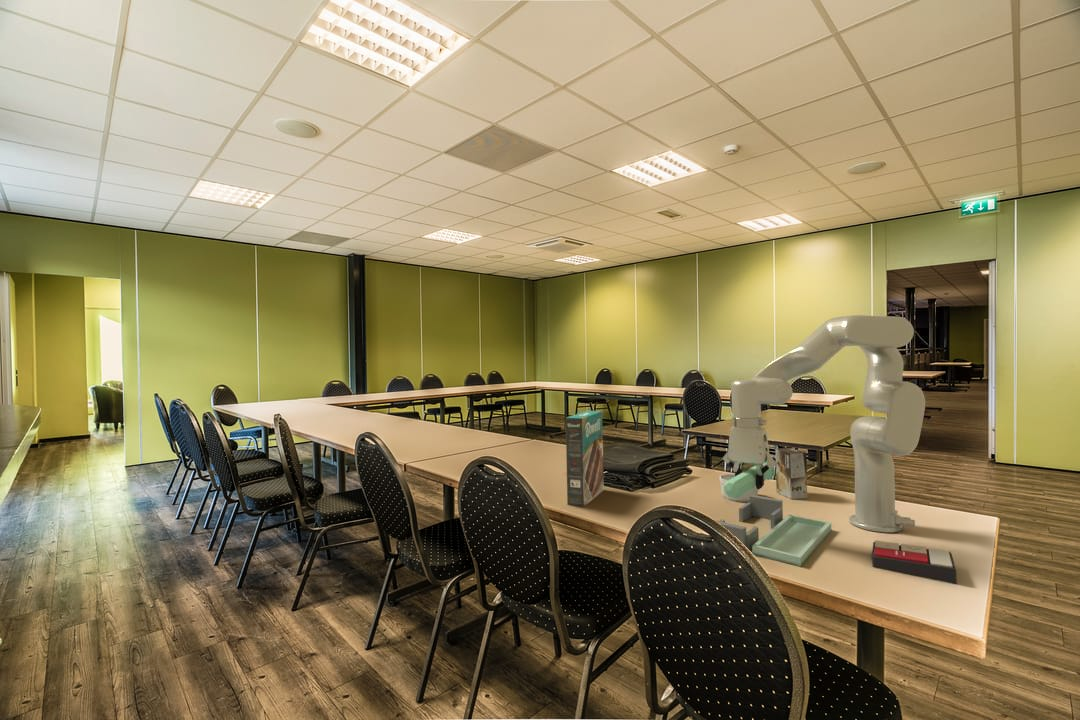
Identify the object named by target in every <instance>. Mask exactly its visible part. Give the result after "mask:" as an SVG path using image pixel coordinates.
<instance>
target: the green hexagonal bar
mask: <svg viewBox="0 0 1080 720" xmlns="http://www.w3.org/2000/svg"><path fill="white" fill-rule="evenodd" d="M767 464H768V461H767V462H765V463H764V464H763V466H766V465H767ZM756 475H757V470H756V467H755V465H754V466H751V467H750V468H748V469H747V470H745V471H743V473H741V474H739V475H737V476H735V477H733V478H732V479H730V480H728V481H727V482H726V483H725V484H724V492H725V493H726V494H727V495H728V496H729V497H733V498H738V497H739V496H741V495H743V494H744V493H746V492H747V491H749V490H751V489H752V488H754V487H755V486H756ZM775 476H776V466H773V467H771V468H770V469H769V470H767V471H766V472H765V473H764V482H765V481H766V480H767V481H770V480H771V479H772V478H773V477H775Z"/></svg>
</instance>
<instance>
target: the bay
mask: <svg viewBox="0 0 1080 720" xmlns="http://www.w3.org/2000/svg"><path fill="white" fill-rule="evenodd" d="M783 507H784V506H783V499H778V498H771V497H766V496H760V495H758V496H756V495H751V496H750V502H745V503H744V504H743V505H742V506H740V507H739V508H738V521H739V522H742V523H743V522H744V521H747V519H749V518H751V517H757V518H761V519H765V520H769V521H770V529H773V528H774V527H775V526H776V525H777V524H779V523H780V522H781V521H782V520H783V519H784V514H783V512H784V509H783ZM715 521H716V522H718V523H720V524H721V525H722V526H724V527H725V528H726V529H727V530H729V531H730V532H731V533H732V534H733V535H734V536H736V537H737V538H738V539H739V540H740V541H741V542H742V543H743V544H744V545H745V546H746V547H747V548H748V549H749V551H750V550H751V549H752V546H753V545H754V544H755V543H756V542H757V541H758V540H760V538H759V536H760V535H759V532H760V531H759V527H758V526H753V527H752V528H751V529H750V530H748V531H747V527H746V526H743V525H737V524H733V523H729V522H726V520H725V519H722V518H721V519H720V520H715Z"/></svg>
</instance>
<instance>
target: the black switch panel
mask: <svg viewBox="0 0 1080 720" xmlns="http://www.w3.org/2000/svg"><path fill="white" fill-rule="evenodd" d="M954 561H955V560H954V557H953V555H952V552H951V551H949V550H946V549H938V548H930V547H928V548H927V547H926V546H922V545H914V544H907V543H901V544H899V543H898V542H891V541H885V540H875V541H873V542H872V552H871V563H872V564H871V565H872V566H871V567H872V568H874V569H880V570H883V571H889V572H895V573H900V574H902V575H903V574H904V575H910V576H915V577H922V578H927V579H928V578H929V579H930V580H934V581H939V582H942V583H947V584H954V585H957V584H958V582H957V568H956V565H955V562H954Z"/></svg>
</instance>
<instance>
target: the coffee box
mask: <svg viewBox="0 0 1080 720" xmlns="http://www.w3.org/2000/svg"><path fill="white" fill-rule="evenodd" d="M775 462H776V465H775V476H776V477H775V478H776V479H775V480H776V481H775V482H776V483H775V484H776V493H777V494H780V495H782V496H783V497H785V498H788V499H790V500H799V499H808V475H807V474H808V473H807V472H808V471H807V470H808V469H807V467H808V466H807V452H805V451H802V450H798V449H795V448H792V447H783V448H782V447H781V448H775Z"/></svg>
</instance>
